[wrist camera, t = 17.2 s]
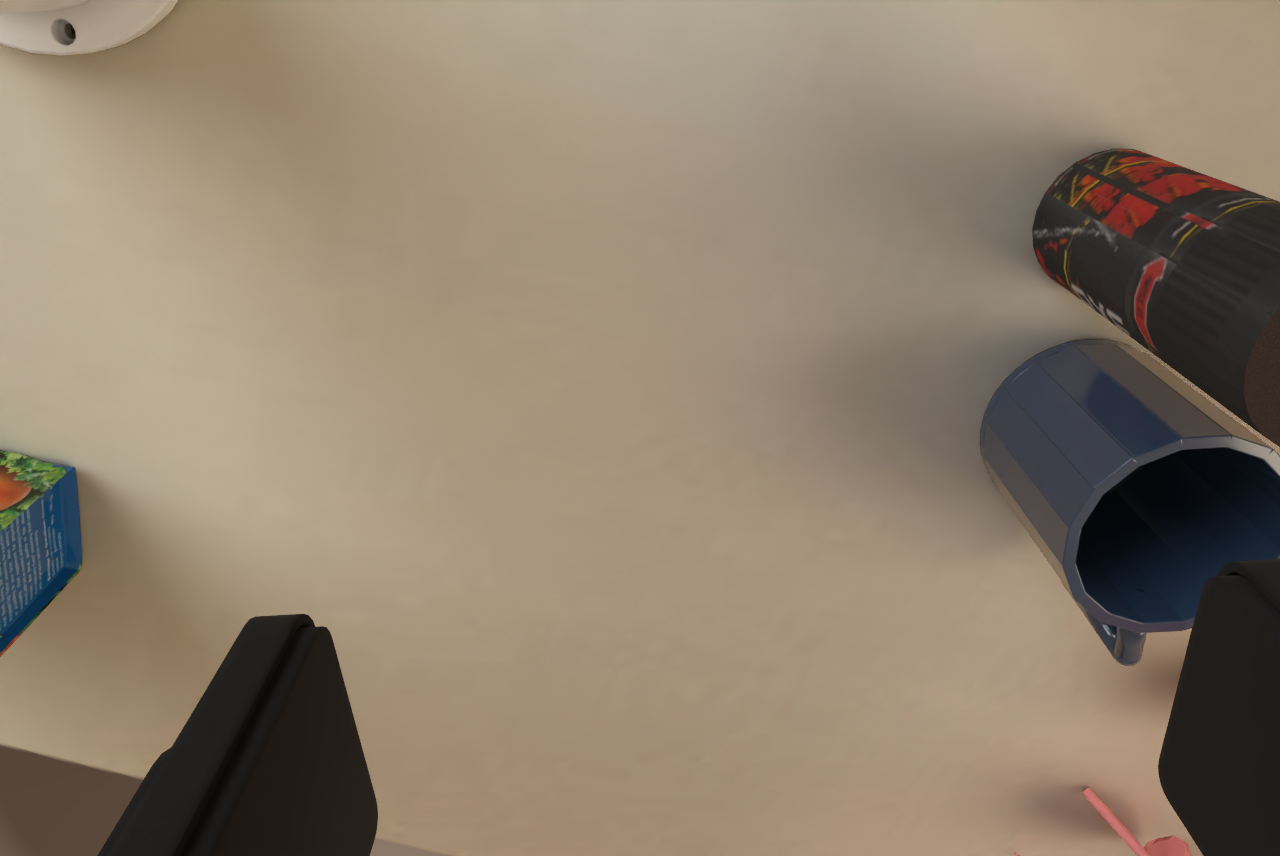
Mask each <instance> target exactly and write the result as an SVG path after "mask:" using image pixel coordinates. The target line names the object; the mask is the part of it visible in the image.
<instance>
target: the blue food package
mask: <svg viewBox="0 0 1280 856" xmlns="http://www.w3.org/2000/svg"><path fill="white" fill-rule="evenodd" d="M81 567H82V552H81V535H80V520H79V505H78V490H77V478H76V470H75V467H71V466H65V465H58V464H53V463H48V462H44V461H39V460H36V459H34V458H31V457H28V456H26V455H23V454H19V453H14V452H8V451H3V450H0V657H1V656H2V654H3V653H4V652H5V651H6V650H7V649H8V648H9V647H10V646H11V645H12V644H13V643H14V641H15V640H16V639H17V638H18V637H19V636H20V635H21V634H22V633H23V632H24V631H25V630H26V629H27V628H28V627H29V625H30V624H31V623H32V622H33V621H34V620H35V619H36V618H37V617H38V616H39V615H40V614H41V612H42V611H43V610H44V609H45V608H46V607H47V606H48V605H49V604H50V603H51V601H52V600H53V599H54V598H55V597H56V596H57V595H58V594H59V593H60V592H61V591H62V590H63V588H64V587H65V586H66V585H67V584H68V583H69V582H70V581H71V580H72V579H73V578H74V577H75V575H76V574H77V573H78V572H79V571H80V570H81Z"/></svg>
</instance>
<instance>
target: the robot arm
mask: <svg viewBox="0 0 1280 856" xmlns="http://www.w3.org/2000/svg"><path fill="white" fill-rule="evenodd" d="M177 2H178V0H0V45H3V46H7V47H11V48H14V49H18V50H22V51H25V52H29V53H36V54H49V55H61V56H67V55H76V54H86V53H93V52H97V51H101V50H105V49H110V48H114V47H118V46H121V45H123V44H125V43H127V42H129V41H131V40H133V39H135V38H137V37H139V36H141V35H143V34H145V33H147V32H148V31H149V30H150V29H152V28H153V27H154V26H155V25H156V24H157V23H158V22H160V21H161V20H162V19H163V18H164V17H165V16H167V15H168V14H169V13H170V12H171V10H172V9H173V7H174V6H175V5H176V3H177ZM71 26H73V28H74V30H75V33H76V37H75V36H74V35H73V34H72V32H71ZM1158 769H1159V778H1160V782H1161V786H1162V788H1163V791H1164V793H1165V795H1166V797H1167V799H1168V801H1169V802H1170V804H1171V806H1172V807H1173V809H1174V810H1175V812H1176V813H1177V815H1178V816H1179V818H1180V820H1181V821H1182V823H1183V824H1184V826H1185V827H1186V829H1187V830H1188V832H1189V834H1190V835H1191V837H1192V838H1193V840H1194V841H1195V843H1196V845H1197V846H1198V848H1199V849H1200V851H1201V852H1202V854H1203V855H1204V856H1280V559H1269V560H1251V561H1233V562H1229V563H1226V564H1224V565H1223V566H1222V568H1221V569H1220V570H1219V572H1218V574H1217V576H1214V577H1211V578H1209V579H1208V580H1207V581H1206V582H1205V583H1204V586H1203V588H1202V592H1201V596H1200V600H1199V604H1198V608H1197V611H1196V615H1195V619H1194V623H1193V627H1192V631H1191V635H1190V639H1189V643H1188V647H1187V651H1186V655H1185V659H1184V663H1183V667H1182V671H1181V675H1180V679H1179V683H1178V687H1177V691H1176V695H1175V699H1174V703H1173V707H1172V710H1171V714H1170V718H1169V722H1168V726H1167V730H1166V734H1165V738H1164V742H1163V746H1162V750H1161V754H1160V758H1159V765H1158ZM377 820H378V811H377V802H376V798H375V794H374V790H373V787H372V783H371V779H370V775H369V772H368V768H367V764H366V761H365V757H364V753H363V750H362V746H361V742H360V739H359V735H358V731H357V728H356V724H355V720H354V717H353V713H352V709H351V706H350V702H349V698H348V695H347V691H346V687H345V684H344V680H343V676H342V673H341V669H340V665H339V662H338V658H337V654H336V651H335V647H334V643H333V640H332V636H331V634H330V631H329V630H328V629H327V627H315V625H314V622H313V620H312V619H311V618H310V617H309V615H306V614H295V615H277V616H259V617H254V618H251V619H250V620H249V621H248V622H247V623H246V624H245V626H244V627H243V629H242V631H241V632H240V634H239V636H238V637H237V639H236V641H235V642H234V644H233V646H232V647H231V649H230V651H229V652H228V654H227V656H226V657H225V659H224V661H223V662H222V664H221V666H220V667H219V669H218V671H217V672H216V674H215V676H214V678H213V679H212V681H211V683H210V684H209V686H208V688H207V689H206V691H205V693H204V694H203V696H202V698H201V699H200V701H199V703H198V704H197V706H196V708H195V709H194V711H193V713H192V714H191V716H190V718H189V719H188V721H187V723H186V724H185V726H184V728H183V729H182V731H181V733H180V734H179V736H178V738H177V739H176V741H175V743H174V744H173V746H172V747H171V748H170V749H168V750H167V751H165V752H164V753H162V754H161V755H160V757H159V758H158V759H157V760H156V762H155V763H154V764H153V766H152V767H151V769H150V770H149V772H148V774H147V775H146V777H145V778H144V780H143V782H142V783H141V785H140V787H139V789H138V790H137V792H136V793H135V795H134V797H133V798H132V800H131V801H130V803H129V805H128V806H127V808H126V810H125V811H124V813H123V815H122V816H121V818H120V820H119V821H118V823H117V824H116V826H115V828H114V830H113V831H112V833H111V835H110V836H109V838H108V839H107V841H106V843H105V844H104V846H103V848H102V849H101V851H100V852H99V854H98V856H370V853H371V849H372V846H373V843H374V839H375V835H376V830H377Z"/></svg>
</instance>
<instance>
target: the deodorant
mask: <svg viewBox="0 0 1280 856" xmlns="http://www.w3.org/2000/svg"><path fill="white" fill-rule="evenodd" d="M1033 247H1034V250H1035V253H1036V256H1037V259H1038V262H1039V264H1040V265H1041V266H1042V268H1043V269H1044V270H1045V271H1046V273H1047V274H1048V275H1049V276H1050V277H1051V278H1053V279H1054V280H1055V281H1057V282H1058V283H1059V284H1061V285H1062V286H1063V287H1065V288H1066V289H1067V290H1069V291H1070V292H1071V293H1073V294H1074V295H1075V296H1077V297H1078V298H1079V299H1081V300H1082V301H1083V302H1085V303H1086V304H1087V305H1089V306H1090V307H1091V308H1093V309H1094V310H1095V311H1097V312H1098V313H1099V314H1101V315H1102V316H1103V317H1105V318H1106V319H1108V320H1109V321H1110V322H1112V323H1113V324H1114V325H1116V326H1117V327H1118V328H1120V329H1121V330H1122V331H1124V332H1125V333H1126V334H1128V335H1129V336H1130V337H1132V338H1133V339H1134V340H1136V341H1137V342H1138V343H1140V344H1141V345H1142V346H1144V347H1145V348H1146V349H1148V350H1149V351H1150V352H1152V353H1153V354H1154V355H1156V356H1157V357H1158V358H1160V359H1161V360H1162V361H1164V362H1165V363H1167V364H1168V365H1169V366H1171V367H1172V368H1173V369H1175V370H1176V371H1177V372H1179V373H1180V374H1181V375H1183V376H1184V377H1185V378H1187V379H1188V380H1189V381H1191V382H1192V383H1193V384H1195V385H1196V386H1197V387H1199V388H1200V389H1201V390H1203V391H1204V392H1205V393H1207V394H1208V395H1209V396H1211V397H1212V398H1213V399H1215V400H1216V401H1217V402H1219V403H1220V404H1221V405H1223V406H1224V407H1226V408H1227V409H1228V410H1230V411H1231V412H1232V413H1234V414H1235V415H1236V416H1238V417H1239V418H1240V419H1242V420H1243V421H1244V422H1246V423H1247V424H1248V425H1250V426H1251V427H1252V428H1254V429H1255V430H1256V431H1258V432H1259V433H1260V434H1262V435H1263V436H1265V437H1266V438H1268V439H1269V440H1270V441H1272V442H1273V443H1275V444H1276V445H1278V446H1279V447H1280V202H1278V201H1276V200H1273V199H1270V198H1267V197H1265V196H1262V195H1259V194H1256V193H1254V192H1251V191H1248V190H1245V189H1243V188H1240V187H1237V186H1234V185H1232V184H1229V183H1226V182H1223V181H1221V180H1218V179H1215V178H1212V177H1210V176H1207V175H1204V174H1201V173H1198V172H1196V171H1193V170H1190V169H1187V168H1185V167H1182V166H1179V165H1176V164H1174V163H1171V162H1168V161H1165V160H1163V159H1160V158H1157V157H1154V156H1152V155H1149V154H1146V153H1143V152H1140V151H1137V150H1134V149H1111V150H1106V151H1102V152H1098V153H1094V154H1092V155H1090V156H1088V157H1086V158H1084V159H1082V160H1080V161H1078V162H1076V163H1075V164H1073V165H1072V166H1071V167H1070V168H1068V169H1067V170H1066V171H1065V172H1063V173H1062V174H1061V175H1060V176H1059V177H1058V178H1057V179H1056V180H1055V181H1054V183H1053V184H1052V185H1051V186H1050V188H1049V189H1048V190H1047V191H1046V193H1045V195H1044V197H1043V199H1042V201H1041V203H1040V205H1039V207H1038V209H1037V212H1036V216H1035V220H1034V225H1033Z"/></svg>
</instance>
